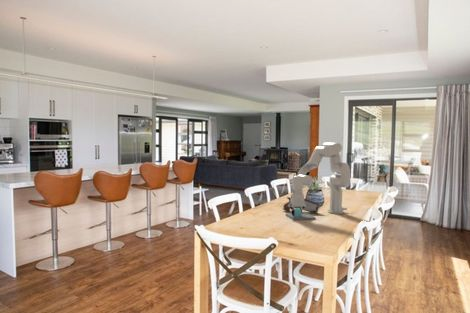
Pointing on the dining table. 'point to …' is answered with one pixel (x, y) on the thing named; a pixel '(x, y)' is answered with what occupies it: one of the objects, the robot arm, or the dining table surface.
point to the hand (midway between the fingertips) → (296, 214)
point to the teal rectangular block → (297, 212)
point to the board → (304, 216)
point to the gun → (309, 206)
